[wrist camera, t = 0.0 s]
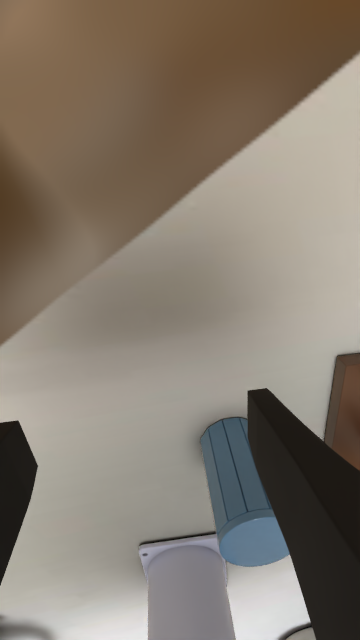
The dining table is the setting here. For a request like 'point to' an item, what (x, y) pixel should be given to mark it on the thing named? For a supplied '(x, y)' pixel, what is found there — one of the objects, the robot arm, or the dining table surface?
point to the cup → (239, 497)
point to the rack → (345, 410)
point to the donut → (303, 635)
